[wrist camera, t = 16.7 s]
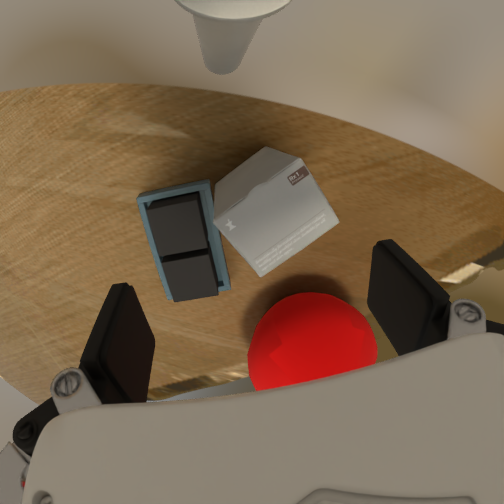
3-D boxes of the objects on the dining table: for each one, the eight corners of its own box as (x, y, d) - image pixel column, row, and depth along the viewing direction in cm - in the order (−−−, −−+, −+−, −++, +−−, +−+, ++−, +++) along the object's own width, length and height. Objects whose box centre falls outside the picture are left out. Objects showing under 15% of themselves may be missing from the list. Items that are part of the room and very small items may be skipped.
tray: (139, 193, 35) (135, 198, 33) (209, 178, 35) (209, 182, 34) (169, 292, 42) (167, 300, 40) (230, 281, 42) (231, 289, 41)
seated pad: (165, 248, 38) (160, 263, 35) (209, 240, 39) (208, 254, 35) (177, 286, 41) (174, 302, 38) (218, 279, 41) (218, 295, 38)
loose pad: (152, 200, 35) (145, 210, 32) (198, 190, 35) (197, 199, 32) (164, 242, 38) (159, 256, 34) (208, 234, 38) (207, 247, 35)
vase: (351, 259, 43) (467, 420, 17) (348, 343, 52) (413, 481, 25) (231, 284, 43) (258, 495, 16) (251, 366, 51) (279, 523, 25)
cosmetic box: (243, 221, 38) (261, 288, 24) (209, 178, 35) (205, 225, 21) (297, 183, 37) (347, 230, 23) (265, 137, 34) (301, 156, 20)
